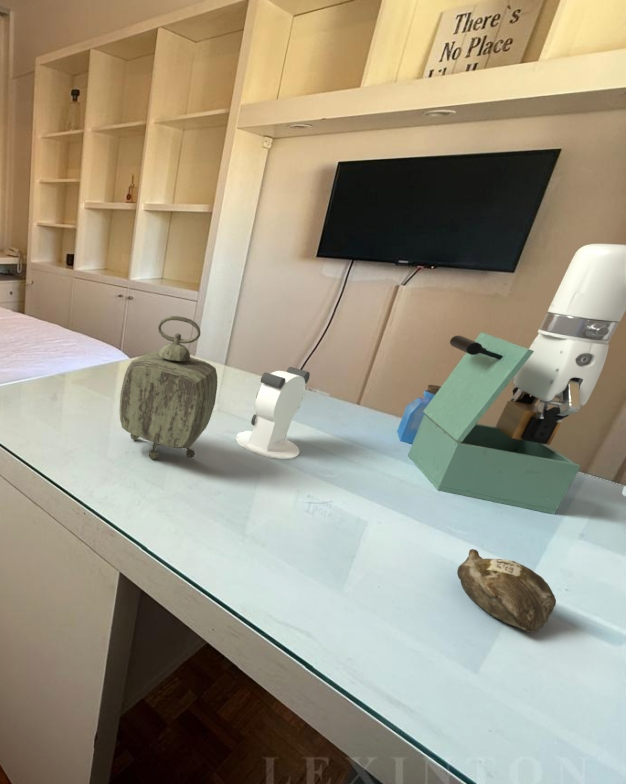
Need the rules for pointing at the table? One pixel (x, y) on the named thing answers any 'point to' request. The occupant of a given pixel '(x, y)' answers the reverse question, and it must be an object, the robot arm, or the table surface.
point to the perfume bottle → (415, 415)
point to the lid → (475, 382)
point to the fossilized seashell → (507, 591)
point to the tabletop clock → (168, 395)
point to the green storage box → (493, 466)
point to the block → (518, 419)
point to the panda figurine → (275, 414)
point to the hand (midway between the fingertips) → (523, 433)
